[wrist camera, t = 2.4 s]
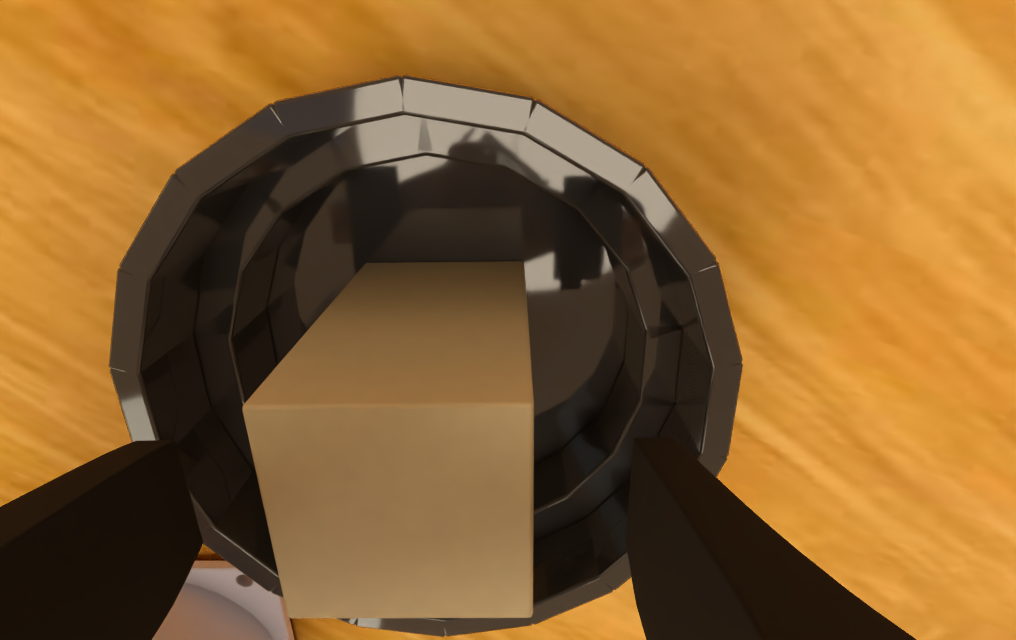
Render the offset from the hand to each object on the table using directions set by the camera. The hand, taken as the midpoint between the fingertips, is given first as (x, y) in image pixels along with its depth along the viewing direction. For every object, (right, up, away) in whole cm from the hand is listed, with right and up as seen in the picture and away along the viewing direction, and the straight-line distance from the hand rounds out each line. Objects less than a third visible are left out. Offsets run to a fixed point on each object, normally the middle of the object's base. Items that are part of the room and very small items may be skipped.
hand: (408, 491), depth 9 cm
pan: (0, +2, +6) cm, 7 cm away
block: (0, +2, +6) cm, 6 cm away
